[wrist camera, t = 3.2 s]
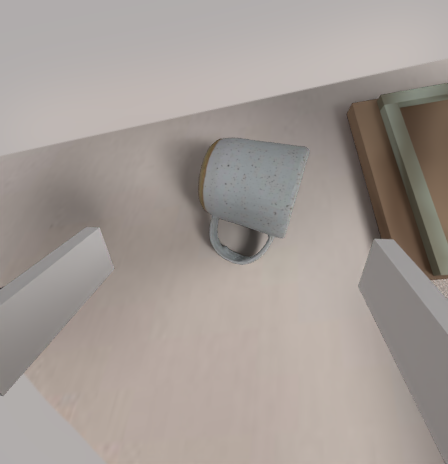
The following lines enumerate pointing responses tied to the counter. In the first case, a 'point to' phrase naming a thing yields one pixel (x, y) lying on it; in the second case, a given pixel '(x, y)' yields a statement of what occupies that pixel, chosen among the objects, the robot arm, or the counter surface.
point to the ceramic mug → (250, 188)
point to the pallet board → (408, 170)
